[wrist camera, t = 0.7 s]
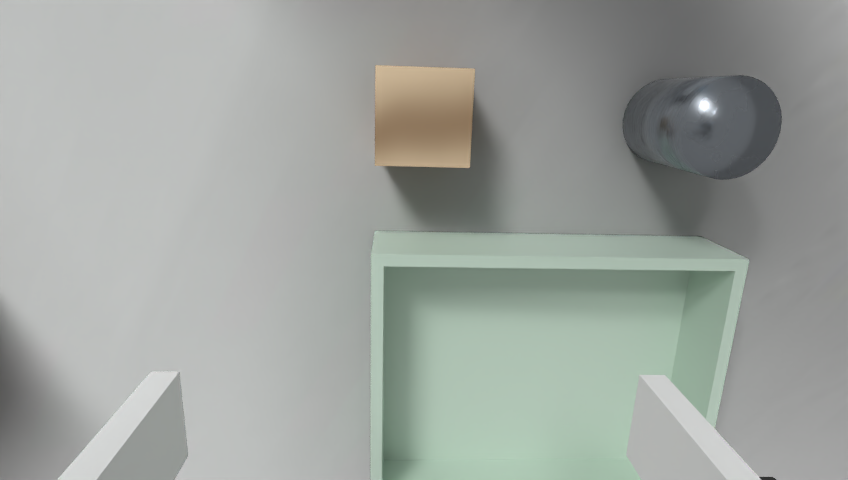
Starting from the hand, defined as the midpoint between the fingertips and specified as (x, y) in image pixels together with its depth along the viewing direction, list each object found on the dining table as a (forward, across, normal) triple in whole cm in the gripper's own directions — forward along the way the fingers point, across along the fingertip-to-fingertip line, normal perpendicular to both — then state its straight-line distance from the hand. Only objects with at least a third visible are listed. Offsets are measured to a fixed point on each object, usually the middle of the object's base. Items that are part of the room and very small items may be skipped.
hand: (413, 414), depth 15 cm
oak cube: (+20, +1, +7) cm, 21 cm away
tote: (+19, +9, -8) cm, 23 cm away
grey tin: (+20, +16, +8) cm, 26 cm away
